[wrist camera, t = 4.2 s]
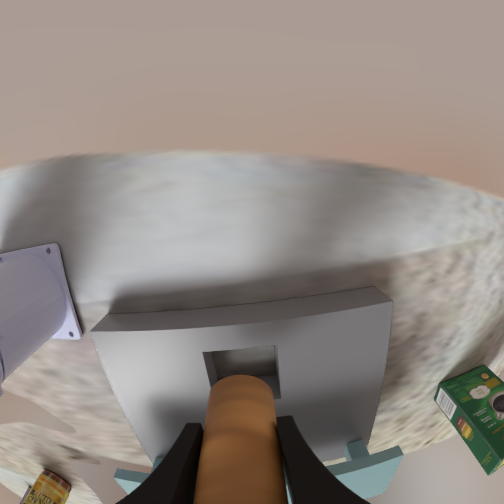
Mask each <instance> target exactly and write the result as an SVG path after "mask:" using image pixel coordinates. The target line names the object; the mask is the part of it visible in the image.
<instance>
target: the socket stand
mask: <svg viewBox="0 0 504 504" xmlns="http://www.w3.org/2000/svg"><path fill="white" fill-rule="evenodd" d="M392 310H393V300H391V299H390V298H389V297H387V296H386V295H385V294H384V293H382V292H381V291H380V290H378V289H377V288H376V287H375V286H373V287H367V288H361V289H355V290H349V291H342V292H336V293H329V294H322V295H315V296H308V297H301V298H293V299H285V300H277V301H269V302H260V303H251V304H242V305H232V306H222V307H211V308H200V309H187V310H174V311H159V312H142V313H122V314H107V315H106V316H105V317H104V318H103V319H102V320H101V321H100V322H99V323H98V324H97V325H96V326H95V327H94V328H93V329H92V330H91V331H90V334H91V337H92V340H93V342H94V345H95V348H96V351H97V353H98V356H99V359H100V361H101V364H102V366H103V369H104V371H105V373H106V376H107V378H108V381H109V383H110V385H111V387H112V390H113V392H114V394H115V396H116V398H117V400H118V402H119V405H120V407H121V409H122V411H123V413H124V415H125V417H126V418H127V420H128V422H129V424H130V426H131V428H132V430H133V432H134V433H135V435H136V437H137V439H138V440H139V442H140V444H141V446H142V447H143V449H144V451H145V452H146V454H147V456H148V457H149V459H150V460H151V462H152V464H153V468H152V471H151V473H152V472H153V471H154V470H155V468H156V467H157V466H158V465H159V463H160V462H161V461H162V460H163V458H164V457H165V456H166V454H167V453H168V451H169V450H170V449H171V447H172V446H173V444H174V443H175V441H176V440H177V438H178V436H179V435H180V433H181V431H182V430H183V428H184V426H185V424H187V423H201V425H202V428H203V430H204V425H205V419H206V413H207V406H208V400H209V394H210V390H211V388H212V387H213V385H214V384H215V383H216V382H218V381H219V380H218V377H217V373H216V368H215V363H214V359H213V354H212V351H223V350H235V349H246V348H255V347H264V346H273V345H274V347H275V359H276V371H277V374H275V375H266V376H257V377H256V378H259V379H261V380H263V381H264V382H265V383H267V384H268V386H269V387H270V388H271V390H272V392H273V398H274V404H275V411H276V417H281V416H288V415H291V416H293V418H294V421H295V423H296V425H297V427H298V429H299V431H300V433H301V434H302V436H303V438H304V439H305V441H306V442H307V444H308V445H309V447H310V448H311V450H312V451H313V452H314V454H315V455H316V456H317V457H318V459H319V460H320V461H321V462H324V461H329V460H334V459H338V458H342V457H346V460H347V462H343V463H339V464H335V465H330V466H326V468H327V469H328V470H329V471H330V472H331V473H332V474H333V475H334V476H335V477H336V478H337V479H338V480H339V481H341V482H342V483H343V484H344V485H345V486H346V487H348V488H349V489H350V490H352V491H353V492H354V493H356V494H357V495H358V496H360V497H361V498H363V499H366V498H369V497H373V496H375V495H378V494H381V493H384V492H385V490H386V488H387V486H388V484H389V483H390V480H391V479H392V477H393V475H394V473H395V471H396V469H397V467H398V465H399V463H400V461H401V459H402V457H403V455H404V454H403V453H402V451H401V449H400V447H399V445H398V446H396V447H393V448H390V449H387V450H384V451H381V452H378V453H375V454H372V455H369V452H368V450H367V446H368V443H369V439H370V436H371V432H372V428H373V424H374V420H375V416H376V412H377V408H378V403H379V398H380V394H381V389H382V384H383V378H384V372H385V367H386V360H387V354H388V347H389V339H390V330H391V321H392ZM149 475H150V474H149V473H142V472H135V471H129V470H124V469H119V468H118V469H117V470H116V473H115V475H114V479H115V480H116V481H117V482H118V483H119V485H120V486H121V487H122V488H123V489H124V490H125V491H126V492H127V493H128V495H129V494H130V493H131V492H132V491H133V490H135V489H136V488H137V487H138V486H139V485H140V484H141V483H142V482H143V481H144V480H145V479H146V478H147V477H148V476H149ZM285 481H286V479H285ZM286 488H287V495H288V502H289V504H292V502H291V498H290V494H289V491H288V487H287V483H286Z"/></svg>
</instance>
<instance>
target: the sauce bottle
mask: <svg viewBox="0 0 504 504" xmlns="http://www.w3.org/2000/svg"><path fill="white" fill-rule="evenodd" d="M70 491H71V487H70V485H69V484H68V483H67V482H66V481H64V480H63V479H62V478H61V477H59V476H58V475H56V474H54V473H52V472H51V471H48V470H45V471H43V472H42V474H40V475H39V477H38V478H37V480H36V482H35V483H34V485H33V486H32V488H31V489H30V491H29V493H28V494H27V496H26V498H25V499H24V501H23V503H22V504H65V502H66V500H67V499H68V497H69V493H70Z"/></svg>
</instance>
